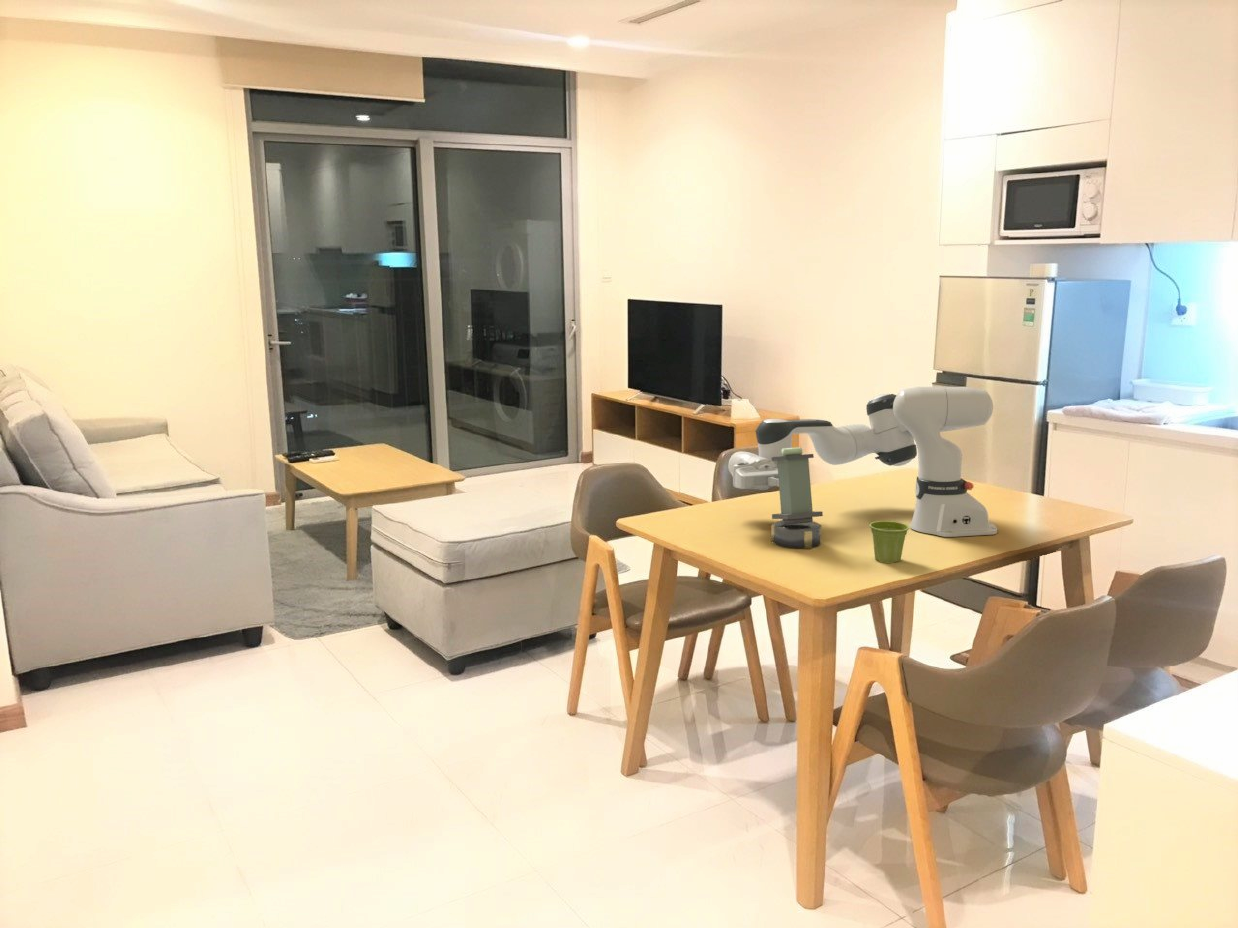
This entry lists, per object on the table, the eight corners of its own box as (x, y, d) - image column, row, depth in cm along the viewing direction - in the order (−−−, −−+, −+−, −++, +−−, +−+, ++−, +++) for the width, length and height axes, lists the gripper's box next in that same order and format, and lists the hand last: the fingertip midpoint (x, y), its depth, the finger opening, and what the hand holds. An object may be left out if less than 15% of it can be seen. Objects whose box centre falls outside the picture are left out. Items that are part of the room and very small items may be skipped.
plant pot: (907, 555, 246) (909, 521, 245) (908, 566, 237) (909, 531, 236) (868, 553, 249) (870, 519, 247) (867, 564, 240) (868, 529, 238)
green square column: (806, 521, 264) (800, 447, 264) (823, 522, 256) (817, 445, 256) (772, 524, 261) (766, 450, 261) (788, 525, 253) (782, 448, 253)
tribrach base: (806, 535, 267) (806, 517, 266) (830, 547, 255) (830, 528, 254) (766, 539, 263) (766, 521, 262) (788, 551, 251) (788, 533, 251)
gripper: (794, 481, 280) (819, 491, 267) (728, 487, 274) (749, 498, 261) (795, 459, 278) (819, 468, 265) (728, 465, 272) (749, 474, 259)
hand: (784, 483), depth 263 cm, fingers closed
